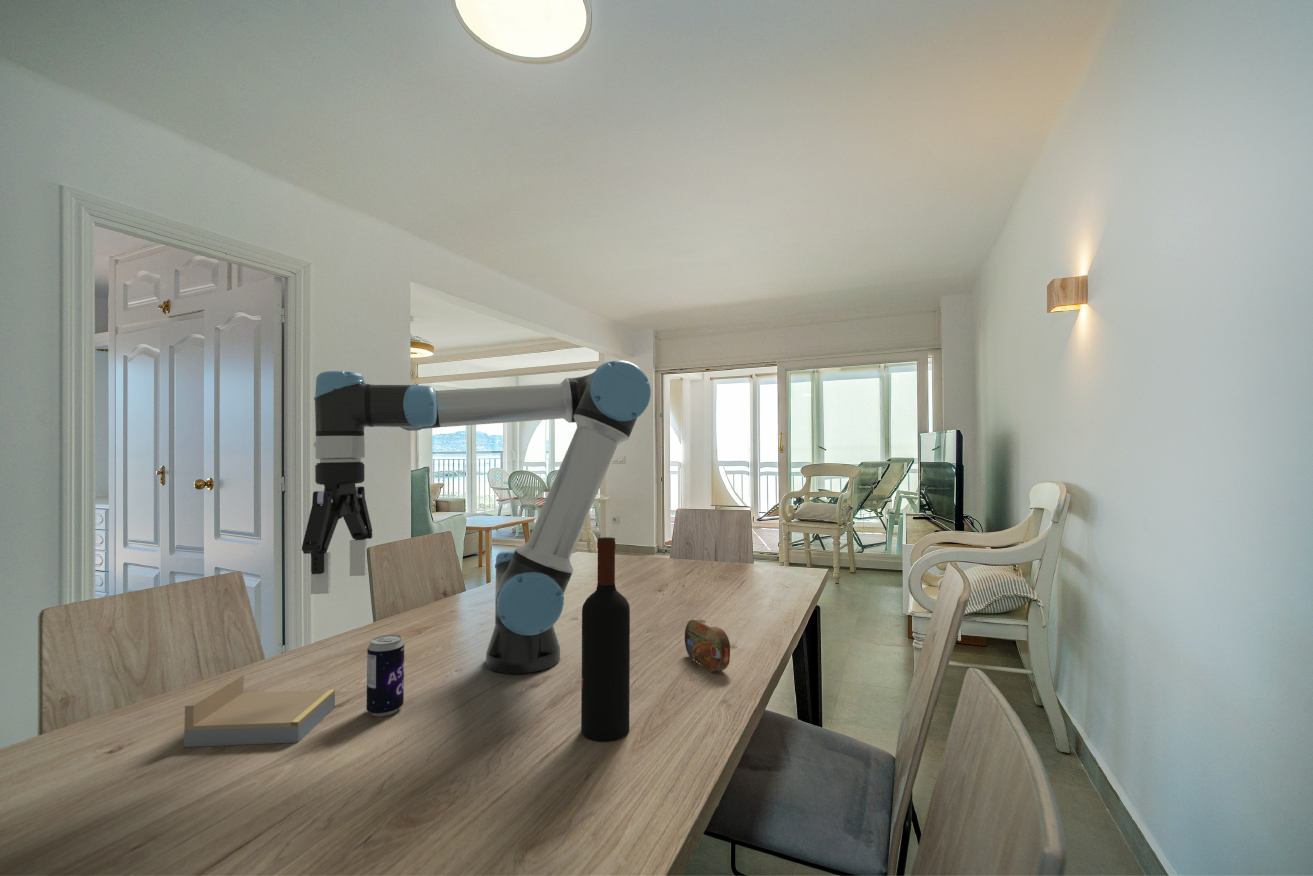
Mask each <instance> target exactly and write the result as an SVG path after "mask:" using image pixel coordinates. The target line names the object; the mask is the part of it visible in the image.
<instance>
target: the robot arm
mask: <svg viewBox="0 0 1313 876" xmlns="http://www.w3.org/2000/svg"><path fill="white" fill-rule="evenodd" d="M651 390H652V389H651V384H650V381H649V380H648V377H647V375H646V373H645V372H644V371H643V370H642V369H641V368H640V367H639V366H637V365H636V364H634V363H633V362H630V361H627V360H620V359H618V360H610V361H607V362H604V363H603V364H601V365H599V366H598V367H597V368H596V369H595V371H593V372H592V373H589V374H586V375H583V376H578V377H571V378H570V377H566V378H565V379H563V381H561V382H560V383H548V384H547V383H545V384H529V385H528V384H526V385H511V386H510V385H509V386H497V387H495V386H494V387H492V386H491V387H477V388H476V387H475V388H474V387H473V388H460V389H442V390H436V389H435V388H434V387H433V386H431V385H423V384H421V385H420V384H416V383H415V384H414V383H412V384H369V383H366V381H365V378H364V375H363V374H361V373H360V372H355V371H354V372H353V371H343V370H328V371H321V372H320V373H319V374H318V375H317V376H316V379H315V393H314V394H315V396H314V398H313V399H314V409H315V411H314V412H315V413H314V416H315V421H314V422H315V442H314V443H313V447H314V448H315V459H316V460H319V462H317V463H316V464H315V465H314V466H315V467H314V468H315V469H314V472H315V474H314V476H315V479H314V481H315V483H316V485H319V486H324V488H323V490H319V491H318V490H316V491H313V493H312V500H311V501H312V502H311V509H310V512H309V513H310V514H309V516H308V520H307V525H306V528H305V533H304V536H303V537H304V538H303V541H302V545H301V551H302V553H303V555H310V595H322V594H323V595H325V594H326V595H327V594H330V593H331V552H330V551H329V552H328V549H329V547H330V544H331V541H332V538H333V535H334V533H335V530H336V527H337V524H338V522H339V520H340V519H342V518H343V521H344V522H345V524H346V526H347V529H348V531H349V534H350V536H351V538H352V539H350V540H349V576H350V577H358V576H360V577H361V576H362V577H363V576H367V574H368V573H367V570H368V568H367V567H368V565H367V564H368V562H367V561H368V559H367V557H368V555H367V553H368V551H367V543H368V542H367V540H368V539H369V540H370V539H371V540H372V538H373V527H372V522H371V518H370V514H369V510H368V505H367V500H366V495H365V494H366V493H365V492H366V491H365V487H364V486H356V484H362V483H363V482H364V481H365V463H364V462H363V461H362V460H363V459H365V457H366V453H365V452H366V449H365V448H366V447H365V427H369V428H374V427H381V428H382V427H383V428H385V427H387V428H401V429H402V430H406V431H411V432H412V431H414V432H415V431H421V430H422V429H423V430H425V429H426V430H427V429H437V428H449V427H461V426H462V427H464V426H475V425H476V426H478V425H491V424H493V425H494V424H504V423H507V424H508V423H517V422H518V423H520V422H534V421H546V420H548V421H549V420H561V419H564V421H566V422H567V423H568V424H569V423H570V424H571V423H572V424H574V423H575V424H576V429H575V432H574V434H573V435H572V438H571V441H570V443H569V445H568V447H567V450H566V452H565V454H564V457H563V459H562V461H561V464H560V465H559V468H558V471H557V473H556V475H555V476H554V480H553V483H552V485H551V487H550V489H549V492H548V494H547V496H546V498H545V501H544V503H543V505H542V508H541V510H540V512H539V515H538V517H537V520H536V522H535V525H534V526H533V529H532V530H531V533H530V534H529V535H530V536H529V538H528V540H527V542H526V543H524V544H522V545H520V546H518V547H516V548H515V550H509V551H500V552H499V553H497V555H496V557H495V564H494V569H495V609H494V610H495V615H494V616H495V617H494V618H495V619H494V620H495V621H494V624H495V625H494V628H493V631H492V633H491V634H492V635H491V638H490V640H489V643H488V646H487V649H486V653H485V665H486V667H487V668H488V669H489V670H491V671H494V672H497V673H503V674H510V675H511V674H513V675H515V674H530V673H536V672H540V671H544V670H548V669H549V668H551V667H554V666H555V665H557V664H558V663H559V662H560V660H561V646H560V644H559V640H558V637H557V634H556V631H555V627H554V625H555V624H556V623H557V622H558V620H559V619H560V616H561V614H562V613H563V608H564V604H565V596H564V594H565V592H566V589H567V588H568V584H569V583H570V580H571V577H572V575H573V572H574V567H573V566H572V564H571V560H570V559H571V557H572V553H573V552H574V550H575V547H576V545H577V542H578V540H579V538H580V534H581V532H582V530H583V528H584V526H585V523H586V522H587V521H586V520H587V519H588V516H589V514H590V511H591V509H592V506H593V505H594V502H595V499H596V498H597V495H598V492H599V490H600V488H601V485H602V483H603V481H604V478H605V476H606V473H607V471H608V468H609V467H610V466H609V465H610V464H611V461H612V459H613V457H614V454H615V451H616V449H617V447H618V445H619V444H621V443H622V442H626V441H627V440H629V438H630V436H631V434H632V432H633V429H634V427H635V424H636V423H637V419H638V418H639V417H640V416H641V415H642V414H643V413H644V412H645V410H646V409H647V407H648V406H649V403H650V400H651V392H652V391H651Z"/></svg>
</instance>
